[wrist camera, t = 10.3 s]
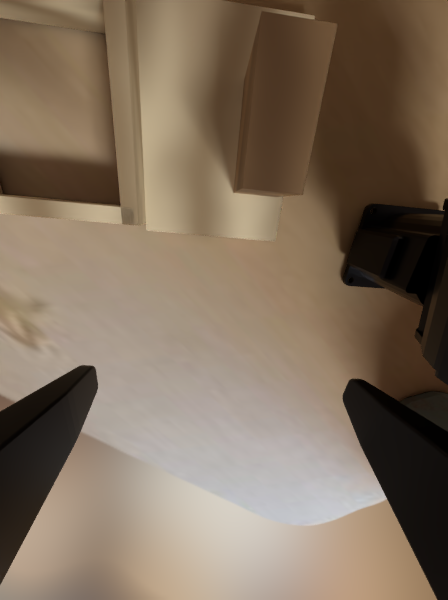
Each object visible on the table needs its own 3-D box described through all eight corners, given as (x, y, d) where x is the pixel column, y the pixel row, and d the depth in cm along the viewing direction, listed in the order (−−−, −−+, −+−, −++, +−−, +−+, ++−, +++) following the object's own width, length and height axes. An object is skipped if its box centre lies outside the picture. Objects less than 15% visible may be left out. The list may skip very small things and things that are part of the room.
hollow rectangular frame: (307, 29, 13) (378, -100, 7) (272, 239, 18) (299, 255, 12) (-81, -35, 11) (-355, -258, 6) (-6, 215, 16) (-119, 222, 11)
